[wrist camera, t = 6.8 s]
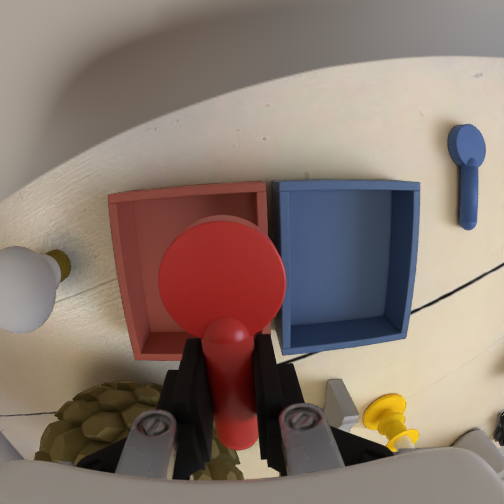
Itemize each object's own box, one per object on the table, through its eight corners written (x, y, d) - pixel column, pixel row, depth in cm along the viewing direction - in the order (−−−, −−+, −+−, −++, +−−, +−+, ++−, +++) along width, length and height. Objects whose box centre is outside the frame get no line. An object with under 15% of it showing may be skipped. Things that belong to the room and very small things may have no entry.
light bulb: (86, 303, 24) (27, 363, 15) (34, 280, 24) (-33, 326, 14) (97, 240, 23) (28, 280, 14) (42, 219, 22) (-36, 246, 13)
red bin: (126, 191, 22) (107, 194, 19) (260, 180, 23) (265, 182, 19) (147, 335, 25) (135, 360, 22) (266, 331, 26) (271, 356, 22)
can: (440, 450, 33) (474, 503, 21) (479, 419, 32) (518, 467, 21) (447, 465, 35) (477, 512, 23) (482, 437, 34) (516, 480, 22)
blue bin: (271, 180, 23) (278, 181, 19) (394, 180, 23) (420, 182, 19) (275, 330, 26) (282, 355, 22) (386, 318, 26) (406, 338, 22)
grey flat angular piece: (341, 378, 28) (322, 445, 30) (327, 379, 28) (310, 446, 30) (360, 415, 22) (334, 482, 24) (344, 417, 22) (321, 484, 24)
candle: (356, 429, 30) (404, 538, 15) (371, 395, 29) (434, 509, 13) (395, 424, 30) (449, 521, 15) (410, 391, 29) (480, 489, 14)
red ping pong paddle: (282, 426, 13) (287, 454, 11) (196, 431, 13) (193, 459, 11) (278, 211, 11) (287, 218, 9) (160, 219, 10) (145, 228, 9)
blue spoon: (475, 227, 25) (486, 231, 23) (446, 228, 25) (458, 232, 23) (475, 128, 22) (487, 127, 21) (445, 122, 22) (457, 120, 21)
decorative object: (258, 363, 27) (288, 586, 7) (225, 470, 30) (226, 617, 11) (77, 321, 25) (-52, 481, 5) (88, 439, 29) (35, 569, 9)
